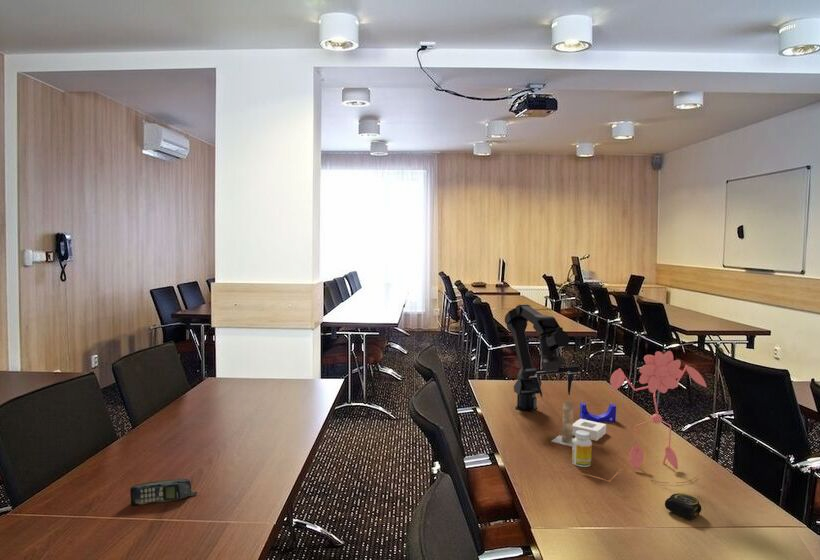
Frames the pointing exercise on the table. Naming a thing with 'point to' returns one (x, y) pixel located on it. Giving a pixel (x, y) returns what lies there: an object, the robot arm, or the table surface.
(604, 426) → the block
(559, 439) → the mat
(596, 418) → the cable clip
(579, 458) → the supplement bottle
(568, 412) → the peg
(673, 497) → the tape measure
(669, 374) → the figurine
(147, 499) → the mobile phone
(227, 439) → the table surface
